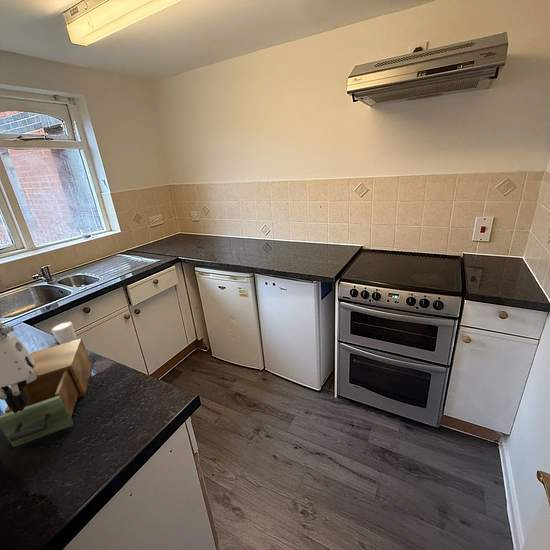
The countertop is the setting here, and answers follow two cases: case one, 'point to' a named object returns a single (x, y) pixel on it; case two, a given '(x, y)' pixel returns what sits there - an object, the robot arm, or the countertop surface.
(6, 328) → the robot arm
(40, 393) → the drawer
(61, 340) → the white short cylinder
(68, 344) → the cabinet
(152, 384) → the countertop surface
